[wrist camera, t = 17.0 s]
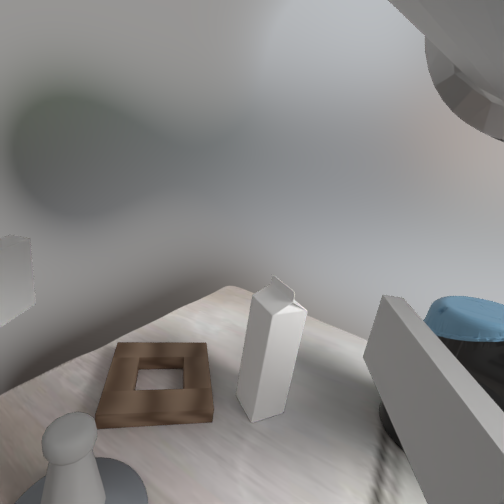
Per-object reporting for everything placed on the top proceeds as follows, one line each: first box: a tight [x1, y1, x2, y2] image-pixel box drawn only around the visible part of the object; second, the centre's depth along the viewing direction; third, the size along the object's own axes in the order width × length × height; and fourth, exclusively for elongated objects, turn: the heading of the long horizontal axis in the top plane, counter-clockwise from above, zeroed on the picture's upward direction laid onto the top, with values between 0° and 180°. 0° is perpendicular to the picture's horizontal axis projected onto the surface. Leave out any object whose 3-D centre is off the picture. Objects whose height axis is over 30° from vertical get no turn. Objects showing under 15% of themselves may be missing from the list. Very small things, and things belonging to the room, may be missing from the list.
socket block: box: [95, 342, 214, 429], centre depth 52 cm, size 16×16×2 cm
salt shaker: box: [41, 412, 106, 504], centre depth 30 cm, size 6×6×13 cm
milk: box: [236, 275, 307, 423], centre depth 48 cm, size 6×6×22 cm
